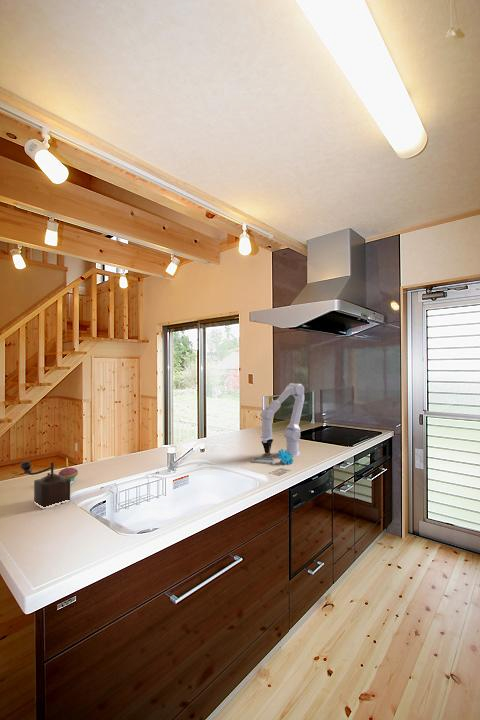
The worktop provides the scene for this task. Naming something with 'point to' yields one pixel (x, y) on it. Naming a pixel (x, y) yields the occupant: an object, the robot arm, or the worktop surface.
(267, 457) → the charcoal cup
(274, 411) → the robot arm
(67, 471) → the cupcake
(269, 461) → the grey tray
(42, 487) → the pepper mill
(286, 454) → the gear
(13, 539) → the worktop surface
